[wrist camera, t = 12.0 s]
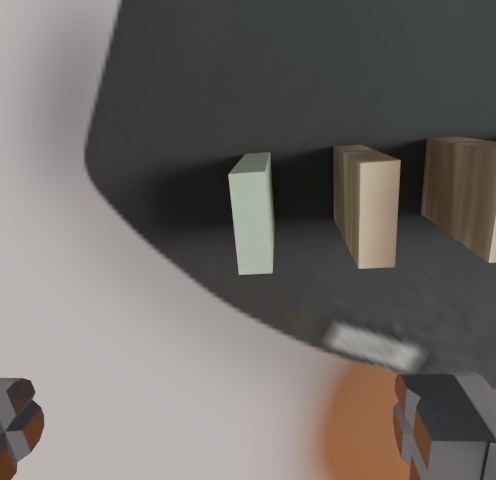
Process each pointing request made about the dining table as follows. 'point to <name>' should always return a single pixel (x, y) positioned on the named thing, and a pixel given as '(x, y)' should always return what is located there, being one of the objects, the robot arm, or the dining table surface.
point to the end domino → (253, 213)
